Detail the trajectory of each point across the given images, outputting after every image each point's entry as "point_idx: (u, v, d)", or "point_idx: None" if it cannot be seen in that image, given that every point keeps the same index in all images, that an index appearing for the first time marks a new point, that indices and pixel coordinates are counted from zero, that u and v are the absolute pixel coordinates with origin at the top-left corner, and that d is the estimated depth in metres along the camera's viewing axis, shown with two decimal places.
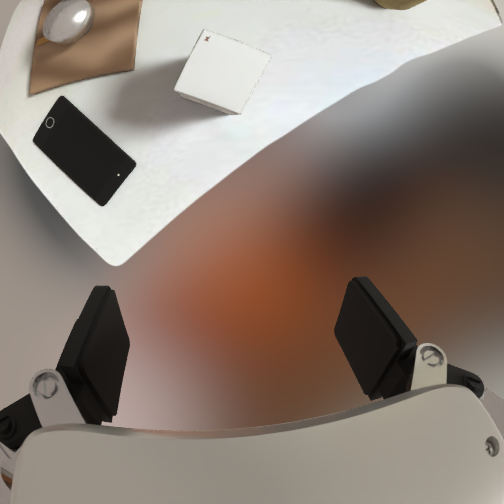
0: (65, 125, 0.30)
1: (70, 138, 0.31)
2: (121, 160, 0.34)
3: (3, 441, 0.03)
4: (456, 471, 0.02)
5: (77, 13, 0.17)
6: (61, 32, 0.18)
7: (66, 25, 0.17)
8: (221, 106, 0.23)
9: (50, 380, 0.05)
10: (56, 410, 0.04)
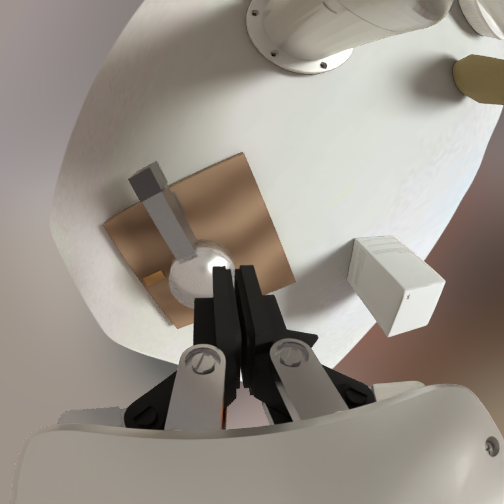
0: None
1: None
2: (305, 340, 0.44)
3: None
4: (456, 471, 0.02)
5: None
6: None
7: None
8: None
9: (210, 358, 0.07)
10: (198, 389, 0.06)
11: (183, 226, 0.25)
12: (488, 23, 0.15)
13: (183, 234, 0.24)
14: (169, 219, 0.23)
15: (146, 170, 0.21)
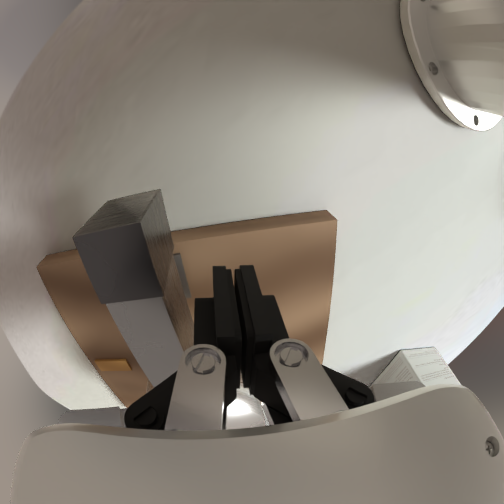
0: None
1: None
2: None
3: None
4: (456, 471, 0.02)
5: None
6: None
7: None
8: None
9: (211, 358, 0.07)
10: (198, 389, 0.06)
11: None
12: None
13: None
14: (167, 352, 0.09)
15: (128, 229, 0.07)
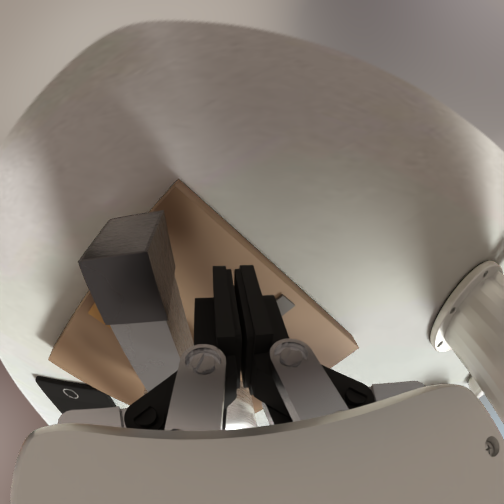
0: None
1: None
2: None
3: None
4: (456, 471, 0.02)
5: None
6: None
7: None
8: None
9: (211, 358, 0.07)
10: (198, 389, 0.06)
11: None
12: None
13: None
14: (168, 369, 0.09)
15: (135, 257, 0.07)
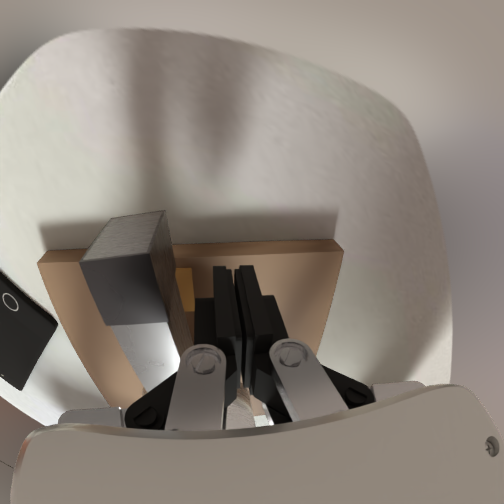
0: (16, 330, 0.15)
1: (5, 334, 0.15)
2: (16, 382, 0.19)
3: None
4: (456, 471, 0.02)
5: None
6: None
7: None
8: None
9: (211, 358, 0.07)
10: (199, 389, 0.06)
11: None
12: None
13: None
14: (168, 370, 0.09)
15: (137, 259, 0.07)
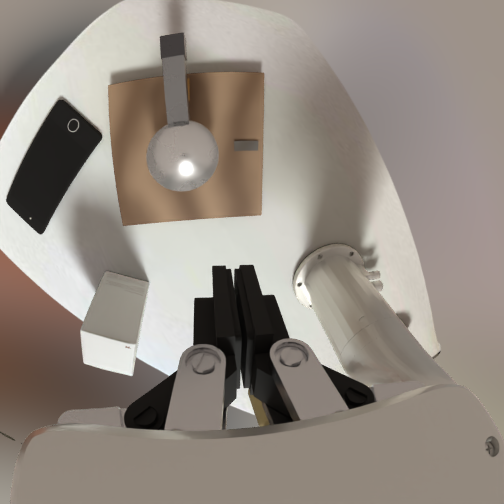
0: (67, 150, 0.26)
1: (55, 159, 0.26)
2: (41, 221, 0.30)
3: None
4: (456, 471, 0.02)
5: (204, 154, 0.24)
6: (185, 180, 0.25)
7: (191, 170, 0.25)
8: None
9: (211, 358, 0.07)
10: (198, 389, 0.06)
11: None
12: None
13: (184, 98, 0.21)
14: (178, 80, 0.20)
15: (179, 34, 0.18)
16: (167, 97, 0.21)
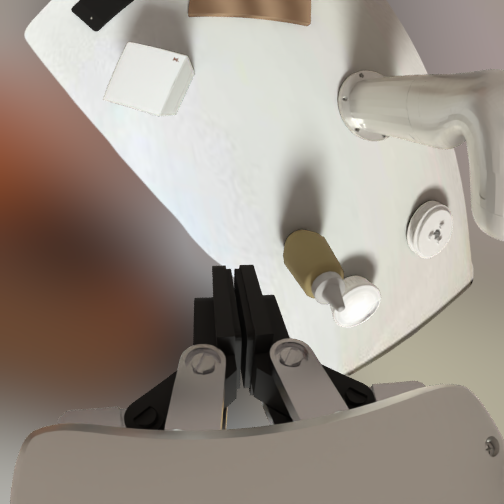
0: None
1: None
2: (102, 18, 0.24)
3: None
4: (456, 471, 0.02)
5: None
6: None
7: None
8: (109, 82, 0.21)
9: (211, 358, 0.07)
10: (198, 389, 0.06)
11: None
12: (351, 291, 0.49)
13: None
14: None
15: None
16: None
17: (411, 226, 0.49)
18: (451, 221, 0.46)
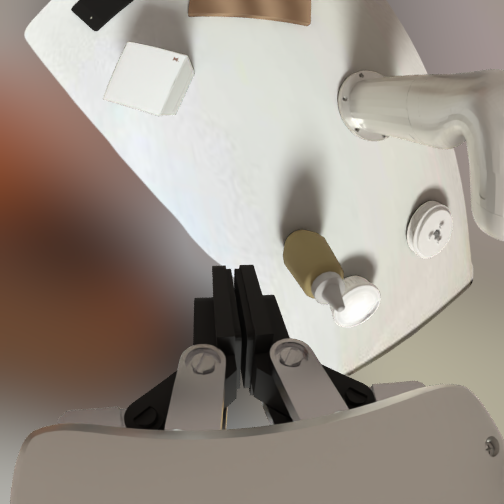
0: None
1: None
2: (102, 18, 0.24)
3: None
4: (456, 471, 0.02)
5: None
6: None
7: None
8: (109, 82, 0.21)
9: (211, 358, 0.07)
10: (198, 389, 0.06)
11: None
12: (351, 291, 0.49)
13: None
14: None
15: None
16: None
17: (411, 226, 0.49)
18: (451, 221, 0.46)
